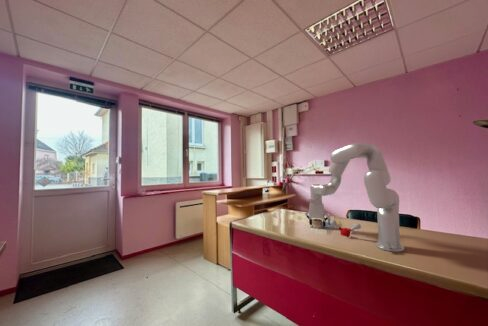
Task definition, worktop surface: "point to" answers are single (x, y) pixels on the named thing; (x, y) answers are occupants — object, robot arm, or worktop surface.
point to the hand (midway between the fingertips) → (317, 225)
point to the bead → (317, 223)
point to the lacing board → (326, 227)
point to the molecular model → (344, 230)
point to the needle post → (329, 219)
